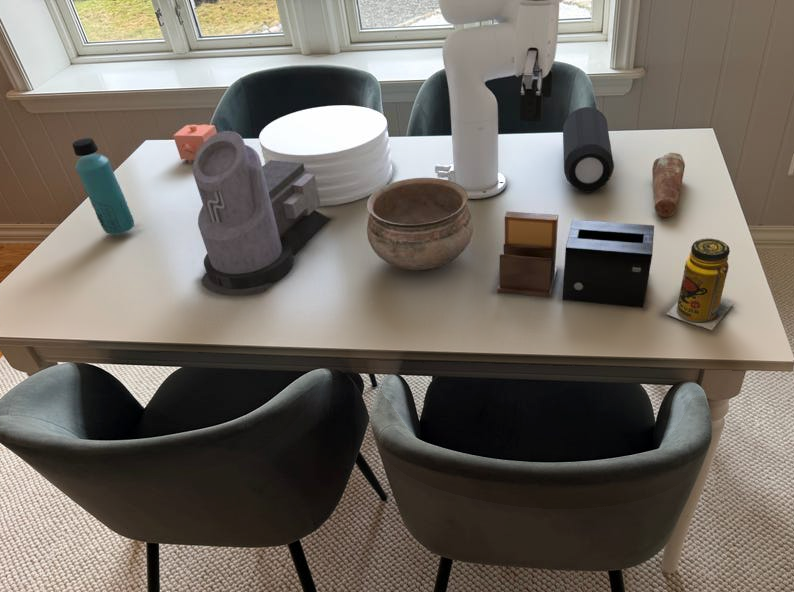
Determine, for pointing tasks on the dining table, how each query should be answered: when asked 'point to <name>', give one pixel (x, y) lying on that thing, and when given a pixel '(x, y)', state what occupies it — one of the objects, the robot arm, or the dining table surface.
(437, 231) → the cooking pot
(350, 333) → the dining table surface
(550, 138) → the dining table surface
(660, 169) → the reddish-brown tapered rod
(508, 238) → the toast
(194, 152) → the pink cube teapot
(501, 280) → the rack
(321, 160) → the plate stack
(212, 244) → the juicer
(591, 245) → the toaster
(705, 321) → the condiment
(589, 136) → the portable speaker
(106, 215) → the beverage bottle
